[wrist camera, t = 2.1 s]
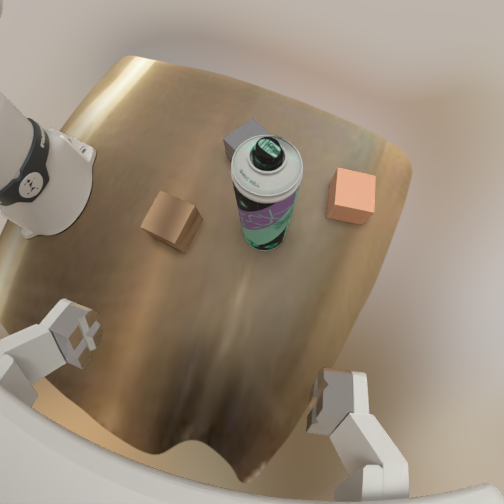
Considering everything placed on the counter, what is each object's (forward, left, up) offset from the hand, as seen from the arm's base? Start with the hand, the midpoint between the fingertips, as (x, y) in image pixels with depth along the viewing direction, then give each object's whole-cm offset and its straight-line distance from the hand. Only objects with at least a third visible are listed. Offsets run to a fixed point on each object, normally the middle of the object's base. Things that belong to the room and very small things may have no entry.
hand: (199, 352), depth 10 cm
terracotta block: (0, +21, -27) cm, 34 cm away
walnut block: (-15, +4, -27) cm, 31 cm away
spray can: (-6, +11, -27) cm, 30 cm away
